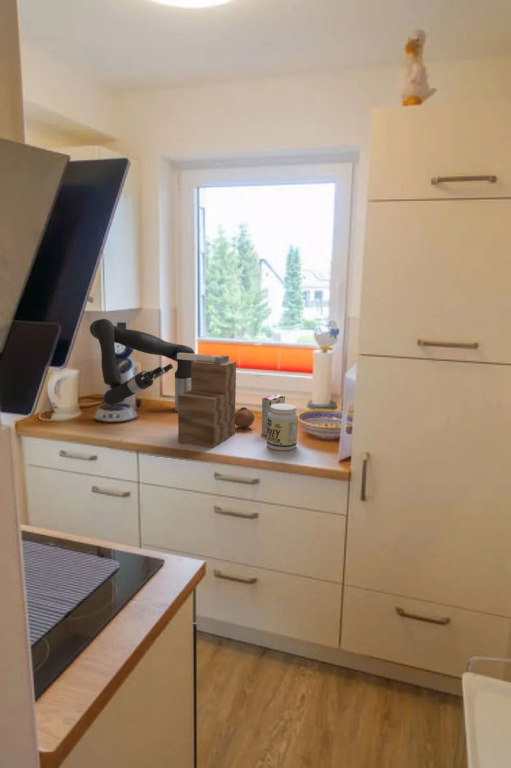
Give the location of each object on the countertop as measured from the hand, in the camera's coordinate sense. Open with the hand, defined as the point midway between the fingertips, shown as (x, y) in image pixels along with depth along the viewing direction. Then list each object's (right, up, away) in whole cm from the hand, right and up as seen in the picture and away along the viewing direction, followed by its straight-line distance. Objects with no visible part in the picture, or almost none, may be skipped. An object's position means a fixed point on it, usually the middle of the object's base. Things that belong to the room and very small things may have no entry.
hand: (166, 367), depth 222 cm
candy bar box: (+47, -29, +3) cm, 55 cm away
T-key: (+16, +2, -7) cm, 17 cm away
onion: (+34, -28, +8) cm, 44 cm away
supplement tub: (+50, -33, -16) cm, 62 cm away
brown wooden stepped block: (+19, -30, -8) cm, 37 cm away
